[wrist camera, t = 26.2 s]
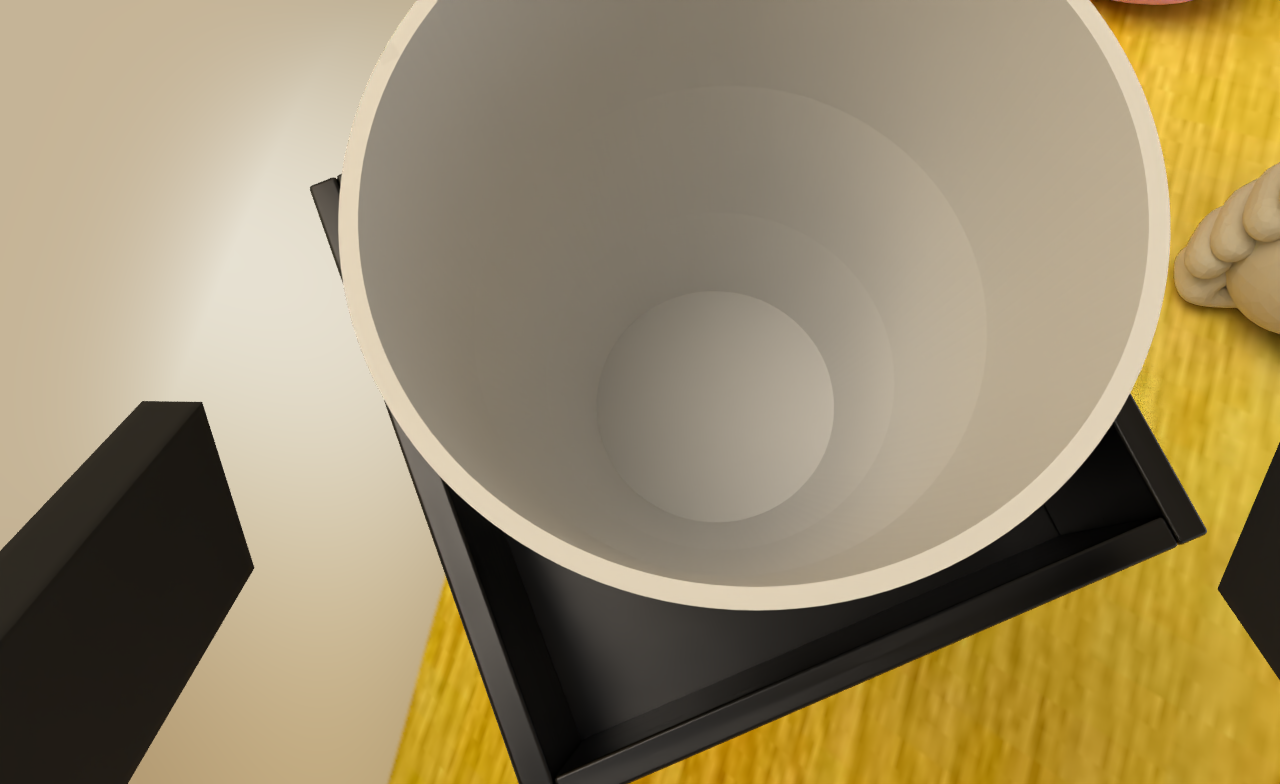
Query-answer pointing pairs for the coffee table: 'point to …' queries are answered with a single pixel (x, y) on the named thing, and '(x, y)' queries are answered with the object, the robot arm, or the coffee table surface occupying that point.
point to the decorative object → (1237, 254)
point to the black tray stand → (752, 614)
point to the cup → (754, 276)
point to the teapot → (1153, 1)
